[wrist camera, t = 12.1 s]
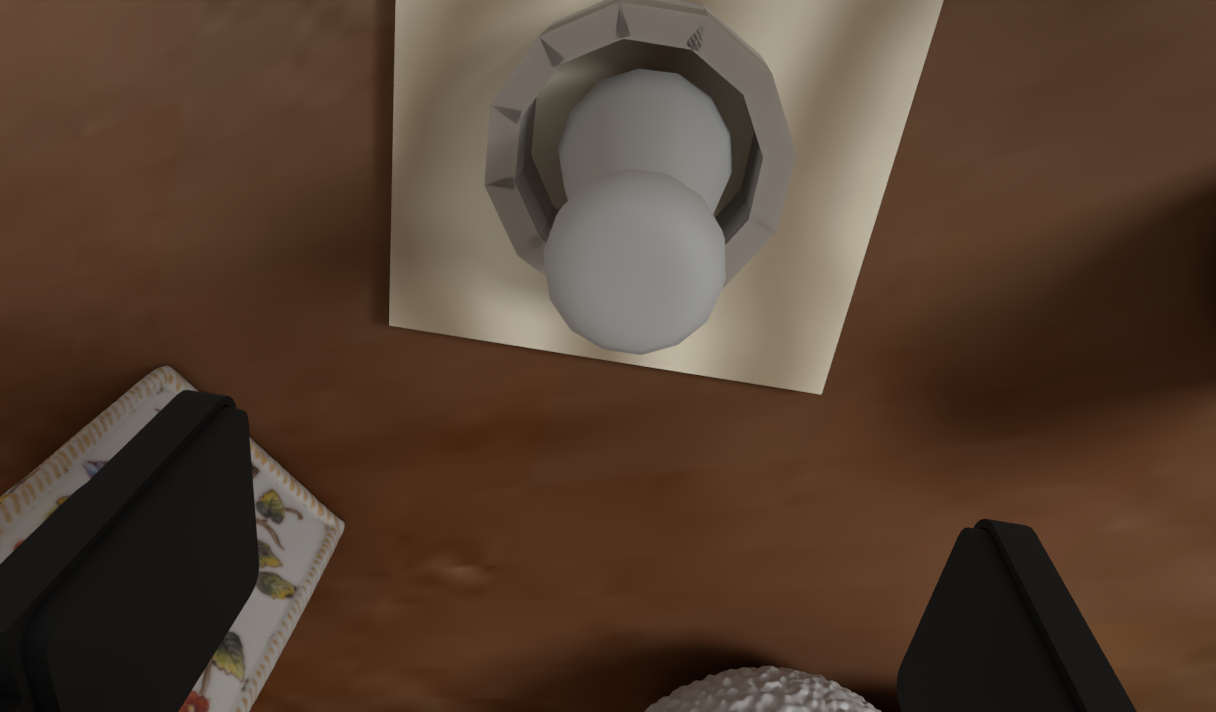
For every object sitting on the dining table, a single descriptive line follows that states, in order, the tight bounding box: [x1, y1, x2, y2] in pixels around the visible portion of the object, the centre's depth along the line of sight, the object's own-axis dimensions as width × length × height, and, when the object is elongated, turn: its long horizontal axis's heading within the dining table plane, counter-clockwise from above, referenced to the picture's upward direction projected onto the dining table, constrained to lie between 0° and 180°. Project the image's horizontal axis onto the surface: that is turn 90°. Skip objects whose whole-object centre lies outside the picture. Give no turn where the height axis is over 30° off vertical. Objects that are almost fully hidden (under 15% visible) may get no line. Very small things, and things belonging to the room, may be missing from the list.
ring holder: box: [389, 0, 944, 395], centre depth 29 cm, size 18×18×4 cm
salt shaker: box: [543, 69, 732, 355], centre depth 24 cm, size 6×6×13 cm
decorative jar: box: [0, 366, 345, 712], centre depth 33 cm, size 12×12×18 cm
